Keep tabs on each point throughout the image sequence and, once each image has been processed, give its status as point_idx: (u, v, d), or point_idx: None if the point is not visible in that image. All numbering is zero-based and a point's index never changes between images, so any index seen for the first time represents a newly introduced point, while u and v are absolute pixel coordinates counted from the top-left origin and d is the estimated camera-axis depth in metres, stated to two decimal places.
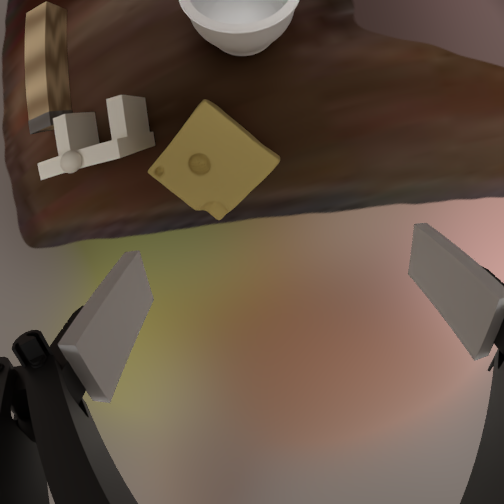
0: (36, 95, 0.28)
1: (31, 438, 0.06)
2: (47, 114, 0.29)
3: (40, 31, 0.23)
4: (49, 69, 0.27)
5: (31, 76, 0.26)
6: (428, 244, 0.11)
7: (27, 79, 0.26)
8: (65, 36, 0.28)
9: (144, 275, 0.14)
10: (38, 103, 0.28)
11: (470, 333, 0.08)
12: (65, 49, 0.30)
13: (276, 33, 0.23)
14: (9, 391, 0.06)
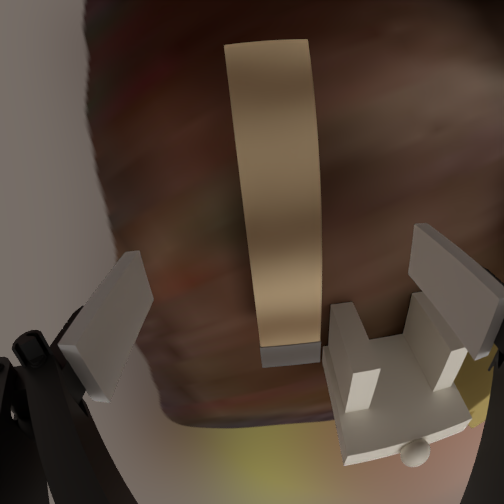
0: (287, 307, 0.18)
1: (31, 438, 0.06)
2: (315, 345, 0.19)
3: (299, 138, 0.14)
4: None
5: (273, 262, 0.17)
6: (428, 244, 0.11)
7: (258, 265, 0.17)
8: None
9: (144, 275, 0.14)
10: (294, 324, 0.19)
11: (470, 333, 0.08)
12: None
13: None
14: (9, 391, 0.06)
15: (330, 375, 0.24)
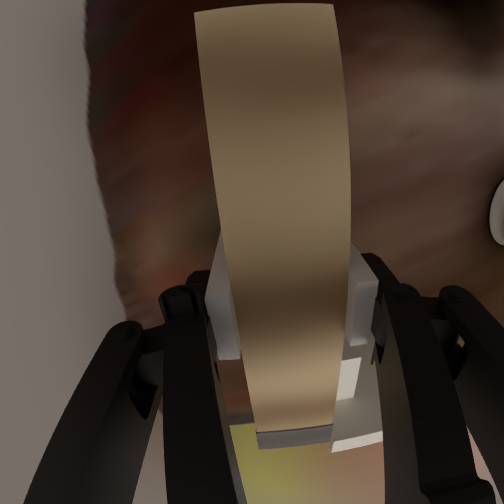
0: (293, 395, 0.12)
1: (141, 413, 0.08)
2: (326, 428, 0.14)
3: (320, 167, 0.08)
4: None
5: (274, 347, 0.11)
6: None
7: (252, 351, 0.11)
8: None
9: None
10: (300, 410, 0.13)
11: (346, 318, 0.10)
12: None
13: None
14: (134, 362, 0.07)
15: None
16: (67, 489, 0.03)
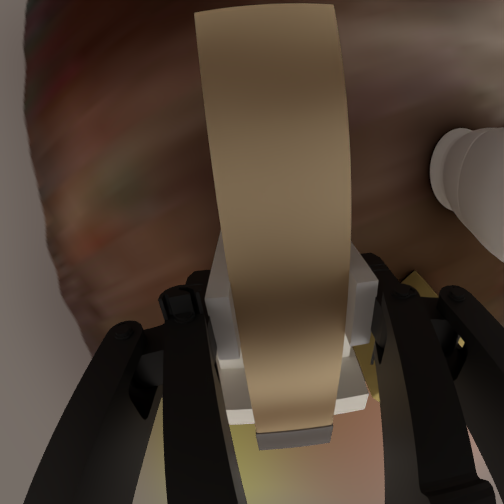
0: (293, 396, 0.12)
1: (141, 413, 0.08)
2: (326, 429, 0.14)
3: (320, 168, 0.08)
4: None
5: (274, 348, 0.11)
6: None
7: (252, 352, 0.11)
8: None
9: None
10: (300, 411, 0.13)
11: (346, 318, 0.10)
12: None
13: None
14: (134, 362, 0.07)
15: None
16: (67, 489, 0.03)
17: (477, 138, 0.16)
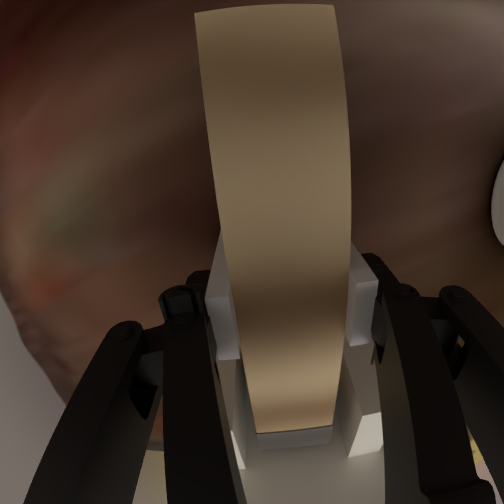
0: (293, 396, 0.12)
1: (141, 413, 0.08)
2: (326, 429, 0.14)
3: (320, 168, 0.08)
4: None
5: (274, 349, 0.11)
6: None
7: (252, 353, 0.11)
8: None
9: None
10: (300, 411, 0.13)
11: (346, 318, 0.10)
12: None
13: None
14: (134, 362, 0.07)
15: None
16: (67, 489, 0.03)
17: None
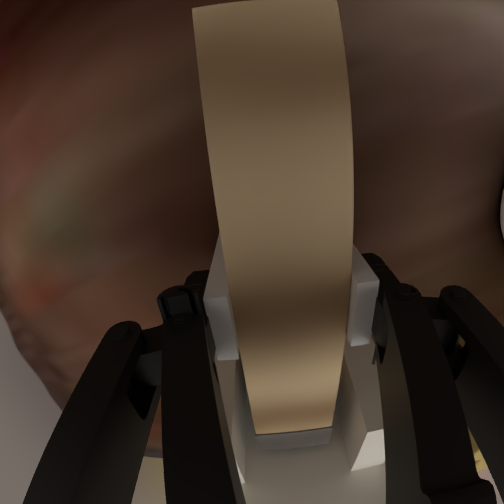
0: (292, 399, 0.12)
1: (139, 413, 0.08)
2: (325, 431, 0.14)
3: (322, 169, 0.08)
4: None
5: (273, 352, 0.11)
6: None
7: (252, 356, 0.11)
8: None
9: None
10: (299, 413, 0.13)
11: (347, 318, 0.10)
12: None
13: None
14: (132, 362, 0.07)
15: None
16: (66, 489, 0.03)
17: None
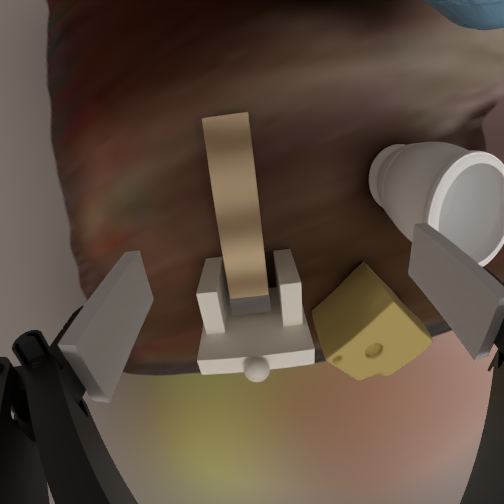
0: (245, 270, 0.30)
1: (31, 438, 0.06)
2: (266, 298, 0.31)
3: (244, 170, 0.26)
4: None
5: (233, 241, 0.29)
6: (428, 243, 0.11)
7: (225, 243, 0.29)
8: None
9: (144, 275, 0.14)
10: (250, 282, 0.30)
11: (470, 333, 0.08)
12: None
13: (466, 241, 0.24)
14: (9, 391, 0.06)
15: None
16: None
17: (398, 153, 0.25)
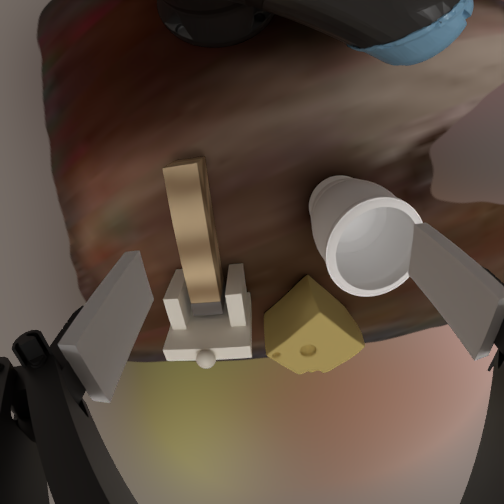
0: (200, 282, 0.38)
1: (31, 438, 0.06)
2: (218, 304, 0.39)
3: (195, 208, 0.34)
4: (213, 255, 0.37)
5: (190, 260, 0.37)
6: (428, 244, 0.11)
7: (184, 262, 0.37)
8: (209, 196, 0.39)
9: (144, 275, 0.14)
10: (205, 291, 0.39)
11: (470, 333, 0.08)
12: (212, 213, 0.40)
13: (386, 265, 0.32)
14: (9, 391, 0.06)
15: None
16: None
17: (326, 190, 0.33)
